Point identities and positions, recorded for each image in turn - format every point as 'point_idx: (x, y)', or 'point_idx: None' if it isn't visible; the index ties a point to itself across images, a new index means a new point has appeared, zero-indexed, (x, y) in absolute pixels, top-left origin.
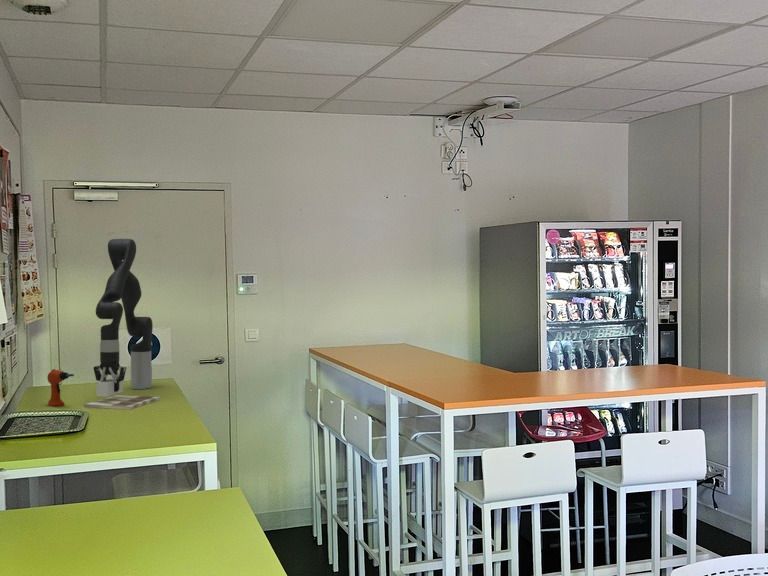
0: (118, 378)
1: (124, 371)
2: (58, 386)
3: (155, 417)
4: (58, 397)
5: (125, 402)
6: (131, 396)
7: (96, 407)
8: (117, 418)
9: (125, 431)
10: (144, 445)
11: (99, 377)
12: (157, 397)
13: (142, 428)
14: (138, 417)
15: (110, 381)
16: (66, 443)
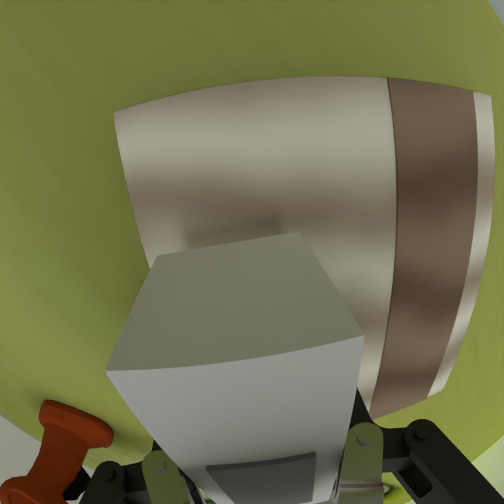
0: (397, 478)
1: (481, 498)
2: (76, 493)
3: (499, 391)
4: (85, 453)
5: (405, 357)
6: (309, 116)
7: None
8: None
9: None
10: (475, 456)
11: (130, 500)
12: (492, 120)
13: (475, 438)
14: (469, 414)
15: (315, 486)
16: (397, 499)
